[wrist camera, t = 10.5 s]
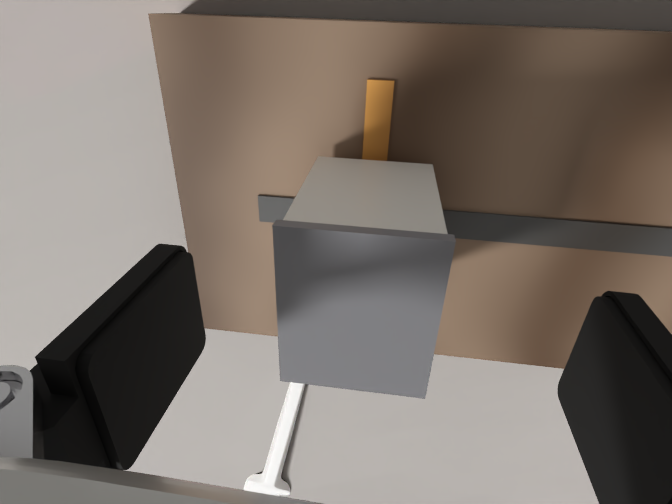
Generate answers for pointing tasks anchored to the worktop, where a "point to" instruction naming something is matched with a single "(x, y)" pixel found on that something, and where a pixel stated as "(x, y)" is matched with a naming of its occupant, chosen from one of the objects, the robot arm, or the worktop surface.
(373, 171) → the fader knob
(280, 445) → the fork
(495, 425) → the worktop surface
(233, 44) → the fader console
